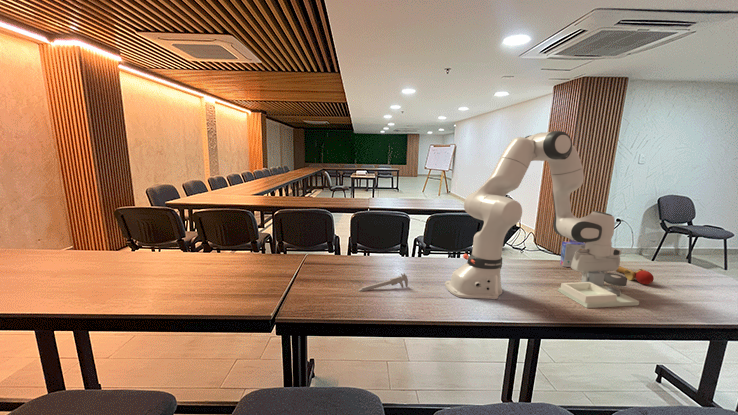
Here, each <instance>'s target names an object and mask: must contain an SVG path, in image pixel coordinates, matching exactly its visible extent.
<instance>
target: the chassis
mask: <svg viewBox="0 0 738 415" xmlns="http://www.w3.org/2000/svg"><path fill="white" fill-rule="evenodd" d="M621 291H622V290H621V288H618V287H615V286H607V285H604V286H597V285H595V284H593V283H591V282H581V281H578V282H561V283H560V287H558V290H557V292H558V293H561V294H562V295H564V296H566V297H567V298H569V299H570V300H573V301H574V302H576V303H577V304H580V305H581V306H583V307H585V309H590V308H591V309H593V308H613V307H614V308H615V307H631V306H639V305H640V300H637V299H635V298H633V297H631V296H628V294H627V295H626V294H624V293H622V292H621Z"/></svg>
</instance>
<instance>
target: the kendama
mask: <svg viewBox="0 0 738 415" xmlns="http://www.w3.org/2000/svg"><path fill="white" fill-rule="evenodd" d="M615 272H617V273H623V274H624V277H626V278H627V281H628V280H629V281H635V280H636V282H638V283H639V284H642V285H646V286H647V285H650V284H652V283H653V282H654V275H653V273H651V272H649V271H648V270H646V269H644V268H639V269H637V271H633V270H632V269H628V268H626V267H623V266H620V265H619V268H618V269H617V270H616V271H615Z"/></svg>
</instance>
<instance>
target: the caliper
mask: <svg viewBox="0 0 738 415" xmlns="http://www.w3.org/2000/svg"><path fill="white" fill-rule="evenodd" d="M397 284H399V285H400V286H401V288H404V284H405V287H406V288H407V287H408V284H409V279H408V276H407V274H406V273H405V272H403V274H402V273H401V274H400V275H399V276H396V277H392V278H389V280H385V281H384V280H383V281H380V282H378V283H374V284H370V285H366V286H362V287H361V288H359V289H358V292H365V291H369V290H374V289H377V288H382V287H385V286H388V285H391V286H395V285H397Z"/></svg>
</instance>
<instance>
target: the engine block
mask: <svg viewBox="0 0 738 415" xmlns="http://www.w3.org/2000/svg"><path fill="white" fill-rule="evenodd" d="M604 275H605V274H603V273H601V272H600V271H590V272H588V274H587V276H588V277H590V278H589V281H584V280H583V275H581V281H580V282H591V283H593V284H595V285H597V286H605V285H604V284H605V281H604Z"/></svg>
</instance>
